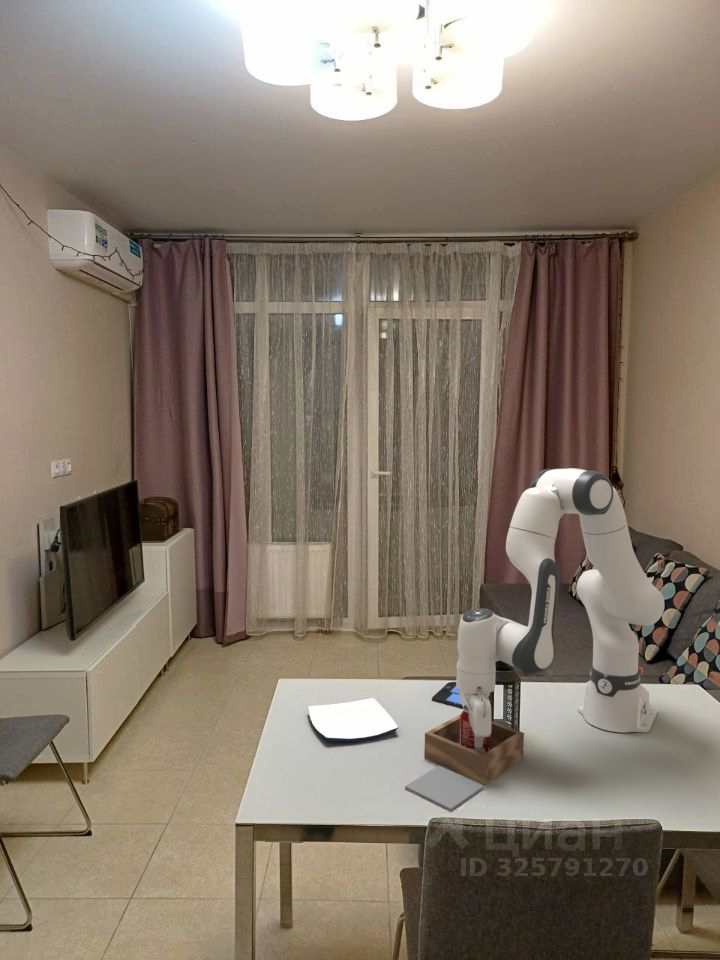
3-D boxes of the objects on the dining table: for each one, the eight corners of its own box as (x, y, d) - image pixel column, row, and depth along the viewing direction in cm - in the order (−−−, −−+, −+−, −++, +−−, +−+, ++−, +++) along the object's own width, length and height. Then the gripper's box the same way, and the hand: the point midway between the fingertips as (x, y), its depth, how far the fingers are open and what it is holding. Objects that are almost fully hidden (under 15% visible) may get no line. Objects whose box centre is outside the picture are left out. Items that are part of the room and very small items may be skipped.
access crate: (464, 734, 171) (465, 711, 171) (523, 757, 160) (524, 733, 160) (424, 757, 160) (424, 733, 159) (484, 784, 148) (485, 758, 148)
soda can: (488, 766, 156) (489, 716, 155) (458, 763, 157) (459, 713, 156) (488, 752, 163) (490, 703, 161) (460, 749, 164) (461, 701, 163)
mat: (438, 768, 155) (439, 765, 155) (483, 788, 147) (484, 785, 147) (405, 788, 146) (405, 786, 146) (450, 811, 138) (450, 808, 138)
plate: (375, 705, 189) (375, 696, 189) (403, 739, 170) (403, 728, 169) (303, 714, 182) (303, 705, 182) (323, 750, 163) (323, 740, 163)
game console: (430, 702, 192) (430, 694, 191) (450, 687, 202) (450, 680, 202) (478, 715, 184) (478, 707, 184) (496, 698, 195) (496, 691, 194)
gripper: (499, 698, 148) (497, 759, 149) (480, 664, 168) (478, 718, 169) (470, 698, 148) (468, 759, 149) (454, 663, 168) (453, 718, 169)
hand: (473, 737), depth 159 cm, fingers open, 8 cm apart
